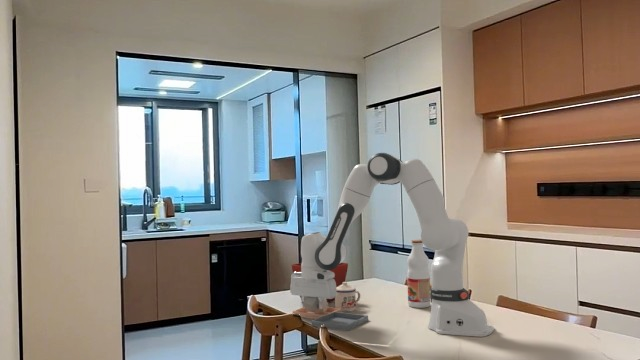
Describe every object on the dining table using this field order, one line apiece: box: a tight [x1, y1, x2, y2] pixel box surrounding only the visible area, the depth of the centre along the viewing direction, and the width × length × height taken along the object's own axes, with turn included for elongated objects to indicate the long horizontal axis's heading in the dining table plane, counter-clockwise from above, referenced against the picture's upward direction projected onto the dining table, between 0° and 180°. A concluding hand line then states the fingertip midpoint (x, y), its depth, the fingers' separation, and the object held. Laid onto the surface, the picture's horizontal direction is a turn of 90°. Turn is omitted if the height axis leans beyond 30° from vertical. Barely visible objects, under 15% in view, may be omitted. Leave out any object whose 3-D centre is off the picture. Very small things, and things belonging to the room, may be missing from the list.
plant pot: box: [291, 262, 349, 303], centre depth 238 cm, size 19×19×17 cm
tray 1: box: [292, 306, 343, 320], centre depth 209 cm, size 16×12×2 cm
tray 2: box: [311, 311, 369, 332], centre depth 195 cm, size 15×16×2 cm
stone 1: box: [302, 297, 320, 313], centre depth 206 cm, size 4×4×4 cm
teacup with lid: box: [334, 281, 361, 312], centre depth 219 cm, size 12×9×12 cm
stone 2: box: [315, 298, 329, 314], centre depth 211 cm, size 4×4×4 cm
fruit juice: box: [406, 239, 431, 309], centre depth 222 cm, size 9×9×28 cm
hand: (313, 307), depth 207 cm, fingers closed on stone 1, 5 cm apart
